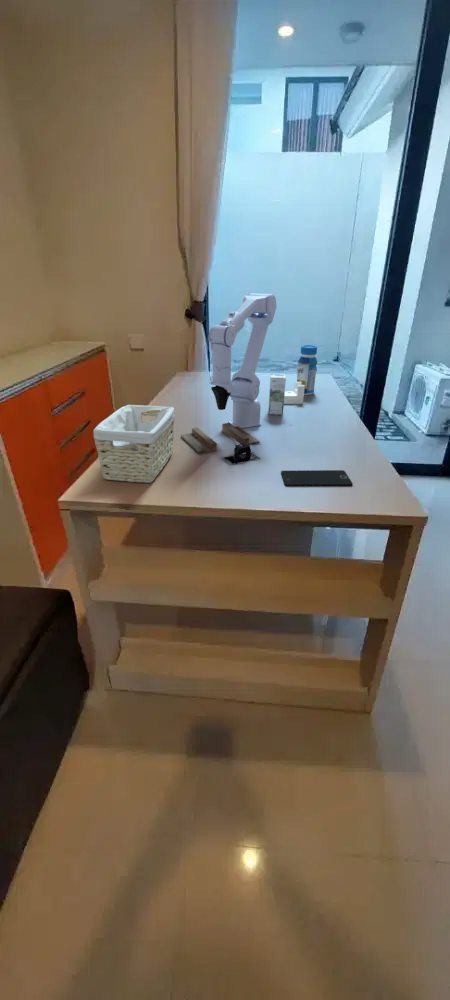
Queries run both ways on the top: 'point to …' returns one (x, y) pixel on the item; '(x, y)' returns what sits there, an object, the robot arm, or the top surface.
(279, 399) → the syrup box
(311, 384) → the beverage bottle
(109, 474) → the storage basket
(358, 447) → the top surface
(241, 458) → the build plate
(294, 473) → the cell phone
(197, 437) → the wooden stepped rails
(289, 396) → the bracket
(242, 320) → the robot arm
